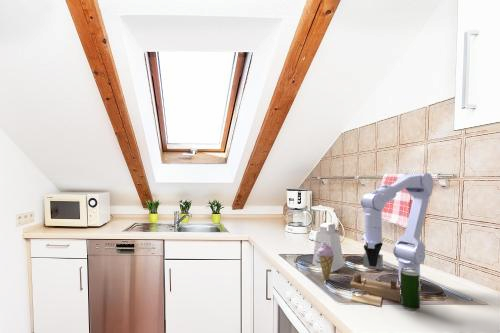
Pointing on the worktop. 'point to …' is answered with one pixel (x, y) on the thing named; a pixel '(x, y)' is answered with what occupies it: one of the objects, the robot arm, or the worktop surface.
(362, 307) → the worktop surface
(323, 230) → the grater
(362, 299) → the cork trivet
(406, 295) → the beer can
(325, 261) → the ice cream cone
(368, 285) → the body
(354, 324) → the worktop surface
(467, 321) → the worktop surface
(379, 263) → the grey block with knob
